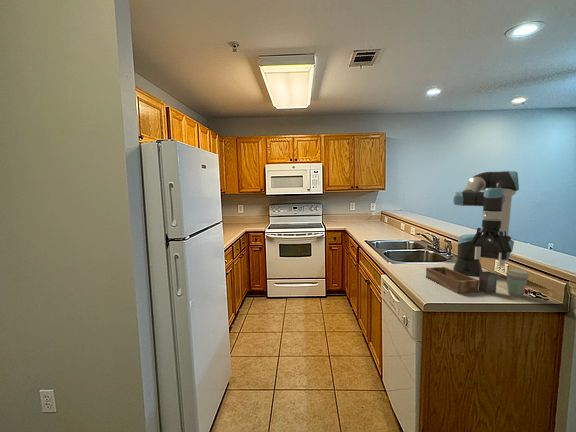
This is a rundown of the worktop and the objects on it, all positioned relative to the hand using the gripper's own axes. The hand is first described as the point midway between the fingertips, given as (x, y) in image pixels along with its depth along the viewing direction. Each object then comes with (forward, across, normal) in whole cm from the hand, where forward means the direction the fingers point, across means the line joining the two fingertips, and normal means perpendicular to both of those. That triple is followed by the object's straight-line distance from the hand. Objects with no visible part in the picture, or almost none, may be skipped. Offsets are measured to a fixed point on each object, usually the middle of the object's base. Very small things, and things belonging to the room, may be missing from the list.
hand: (488, 262), depth 139 cm
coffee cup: (+15, +6, +10) cm, 19 cm away
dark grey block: (+15, 0, 0) cm, 15 cm away
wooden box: (+15, -13, -10) cm, 22 cm away
